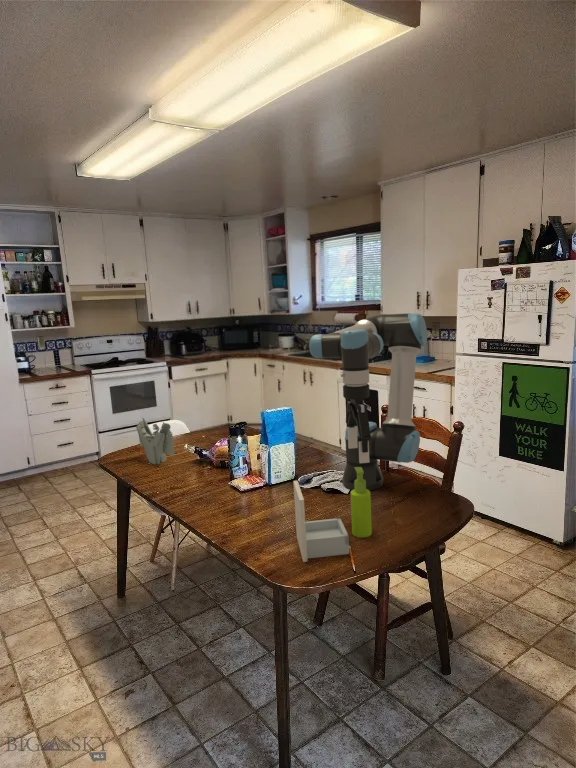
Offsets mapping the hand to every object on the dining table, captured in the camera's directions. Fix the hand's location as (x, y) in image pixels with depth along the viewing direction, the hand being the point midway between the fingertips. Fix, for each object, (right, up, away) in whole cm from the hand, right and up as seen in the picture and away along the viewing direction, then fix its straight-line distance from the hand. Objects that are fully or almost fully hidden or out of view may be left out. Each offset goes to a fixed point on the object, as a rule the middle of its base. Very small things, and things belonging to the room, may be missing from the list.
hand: (358, 455), depth 144 cm
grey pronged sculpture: (-81, -15, +82) cm, 116 cm away
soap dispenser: (+2, -24, +5) cm, 25 cm away
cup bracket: (-11, -26, -3) cm, 28 cm away
